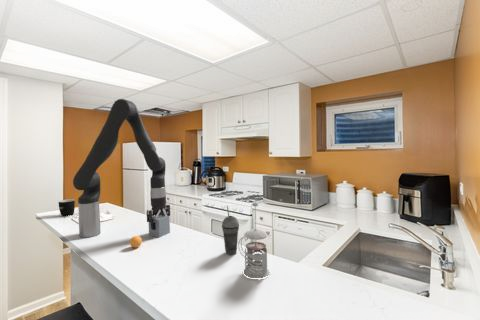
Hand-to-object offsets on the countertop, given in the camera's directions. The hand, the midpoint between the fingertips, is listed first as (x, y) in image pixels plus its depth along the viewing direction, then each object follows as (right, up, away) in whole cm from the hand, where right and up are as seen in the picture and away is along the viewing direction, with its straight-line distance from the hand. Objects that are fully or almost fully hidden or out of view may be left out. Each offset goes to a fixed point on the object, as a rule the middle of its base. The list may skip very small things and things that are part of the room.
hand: (159, 227), depth 125 cm
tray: (-54, -4, +33) cm, 64 cm away
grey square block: (0, -4, 0) cm, 4 cm away
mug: (-75, -3, +39) cm, 85 cm away
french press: (+47, -5, -40) cm, 62 cm away
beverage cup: (+38, -4, -24) cm, 45 cm away
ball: (-5, -2, -16) cm, 17 cm away
